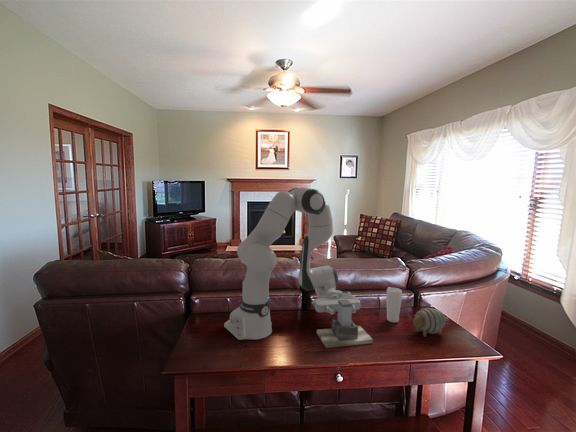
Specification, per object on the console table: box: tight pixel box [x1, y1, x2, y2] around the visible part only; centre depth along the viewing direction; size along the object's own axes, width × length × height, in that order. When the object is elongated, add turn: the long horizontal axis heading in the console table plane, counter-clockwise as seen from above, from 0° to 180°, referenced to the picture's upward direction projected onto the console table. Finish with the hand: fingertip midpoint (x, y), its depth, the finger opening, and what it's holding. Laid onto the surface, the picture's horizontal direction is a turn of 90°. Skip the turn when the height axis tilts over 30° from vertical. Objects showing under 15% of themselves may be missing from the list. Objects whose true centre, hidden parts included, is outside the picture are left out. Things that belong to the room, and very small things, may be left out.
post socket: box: [316, 317, 374, 349], centre depth 122 cm, size 12×20×6 cm, turn 102°
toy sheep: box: [412, 307, 450, 338], centre depth 127 cm, size 11×17×11 cm, turn 107°
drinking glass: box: [385, 287, 403, 323], centre depth 138 cm, size 7×7×15 cm
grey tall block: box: [337, 300, 353, 327], centre depth 122 cm, size 5×4×14 cm
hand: (343, 312), depth 122 cm, fingers open, 8 cm apart
